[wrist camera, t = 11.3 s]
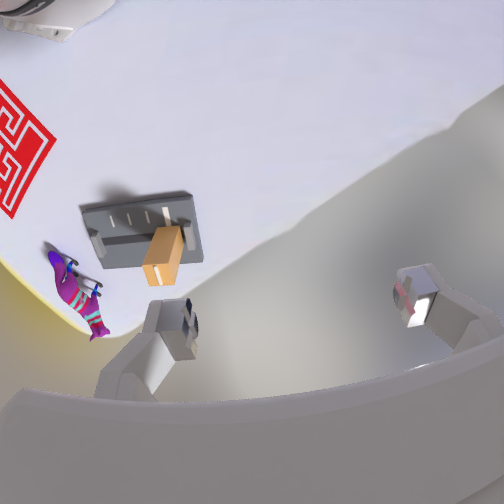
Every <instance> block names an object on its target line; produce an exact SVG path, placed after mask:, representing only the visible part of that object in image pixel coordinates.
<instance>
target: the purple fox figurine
mask: <svg viewBox="0 0 504 504" xmlns="http://www.w3.org/2000/svg"><path fill="white" fill-rule="evenodd" d="M48 257H49V260H50V263H51V264H52V266H53V268H54V271H55V283H56V287H57V291H58V294H59V296H60V297H61V298H62V300H63V301H65V302H66V303H67V304H68V305H70V306H71V307H72V308H73V309H74V310H76V311H77V312H78V313H80V314H81V316H82V317H83V318H84V319H85V320H86V321H87V322H88V324H89V326H90V328H91V330H92V332H93V334H92V336H91V338H90V341H91V340H92V339H94V338H95V337H102V336H104V335H105V334H110V331H109V329H107V328H106V327H105V326H104V324H103V321H102V318H101V315H100V311H99V305H98V301H97V296H99V297H100V296H101V294H100V293H98V292H97V288H98V286H99V287H101V288H102V287H103V285H102V284H100V283H97V284H96V286H95V288H94V290H93V292H92V293H91V298H89V297H88V296H87V295H86V294H85V293H84V292H82V291H81V290H80V289H79V288H78V283H77V281H76V279H75V277H78V275H79V274H77V273H75V272H73V273H72V270H71V267H72V264H73V263H74V264H75V265H76V266H77V265H79V263H78V262H77V261H74V260H72V261H71V262H70V263H69V264H68V266H67V268H66V269H67V276H66V277H65V273H66V270H65V264H64V261H63V259H62V258H61V257H60V256H59V255H58V254H57V253H56V252H53V251H49V253H48ZM74 276H75V277H74ZM64 277H65V281H64V282H63V283H62V281H63V279H64Z"/></svg>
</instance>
